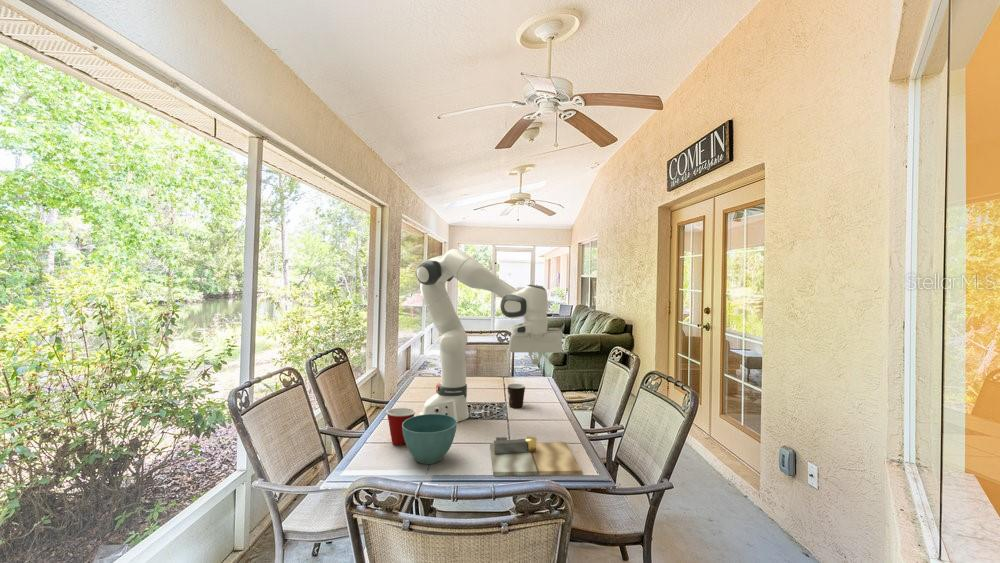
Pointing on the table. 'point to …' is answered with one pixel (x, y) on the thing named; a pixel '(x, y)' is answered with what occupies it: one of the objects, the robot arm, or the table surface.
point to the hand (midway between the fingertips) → (535, 364)
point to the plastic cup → (398, 423)
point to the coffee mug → (516, 395)
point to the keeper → (501, 438)
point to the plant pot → (429, 436)
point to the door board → (536, 461)
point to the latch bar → (515, 445)
